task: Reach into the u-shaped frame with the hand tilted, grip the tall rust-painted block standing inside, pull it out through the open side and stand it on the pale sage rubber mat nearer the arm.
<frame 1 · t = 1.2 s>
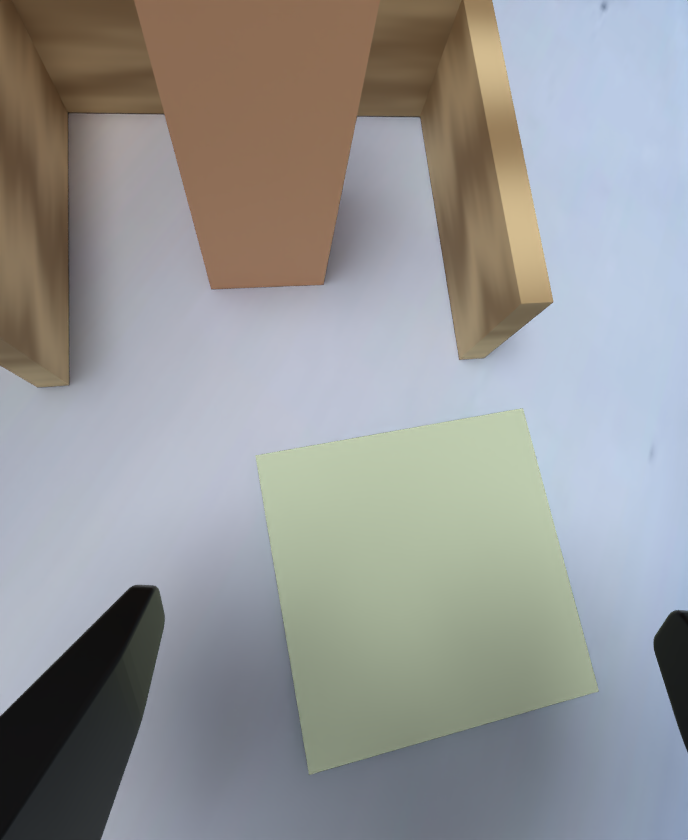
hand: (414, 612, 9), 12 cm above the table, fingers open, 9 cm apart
u-shaped frame: (263, 236, 23), on the table
block: (263, 236, 23), on the table
mat: (423, 572, 21), on the table
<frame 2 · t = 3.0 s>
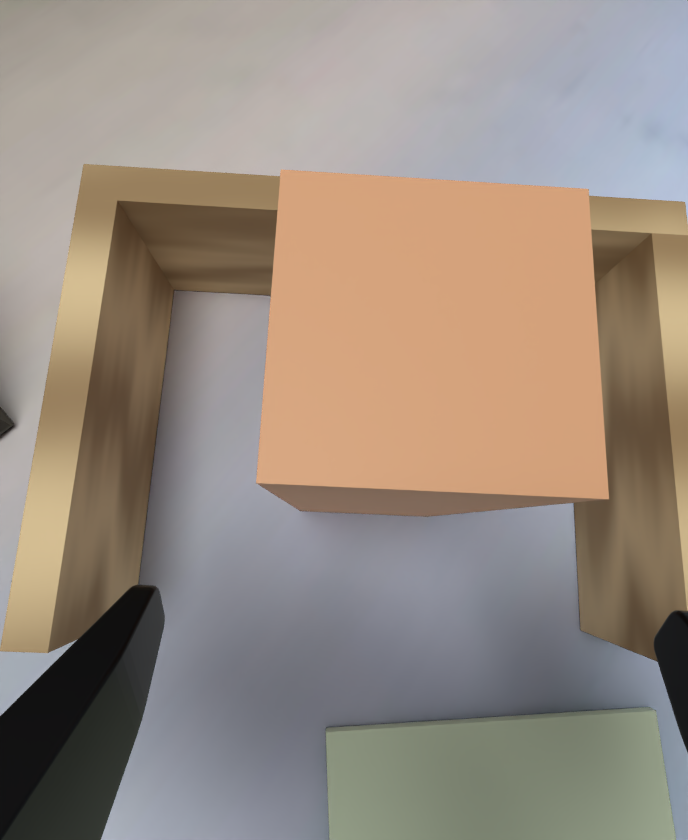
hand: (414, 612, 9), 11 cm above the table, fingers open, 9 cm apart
u-shaped frame: (366, 450, 20), on the table
block: (366, 450, 20), on the table
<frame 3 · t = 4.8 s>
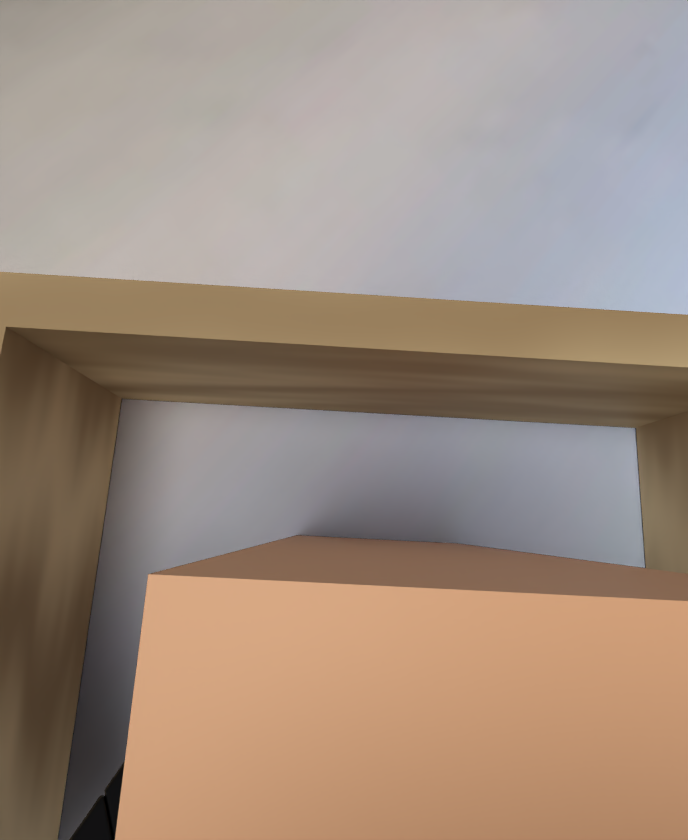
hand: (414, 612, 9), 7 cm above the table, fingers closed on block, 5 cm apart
u-shaped frame: (374, 625, 15), on the table
block: (374, 625, 15), on the table, touching gripper
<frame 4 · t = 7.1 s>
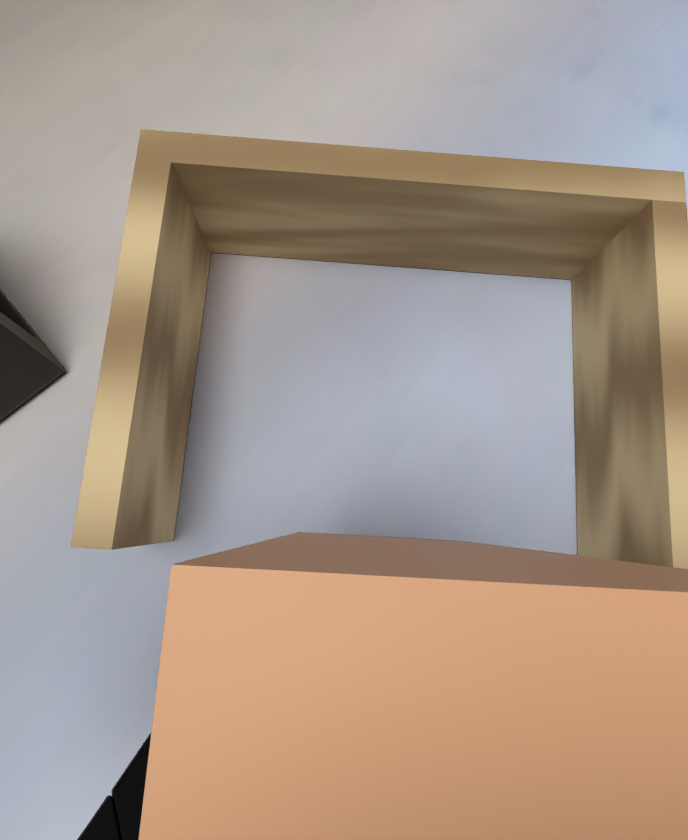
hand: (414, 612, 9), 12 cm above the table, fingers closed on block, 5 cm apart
u-shaped frame: (384, 402, 22), on the table
block: (376, 621, 15), point 6 cm above the table, touching gripper
when the fingers open (8 cm above the table, at t = 9.2 s): block stays where it is, resting on mat.
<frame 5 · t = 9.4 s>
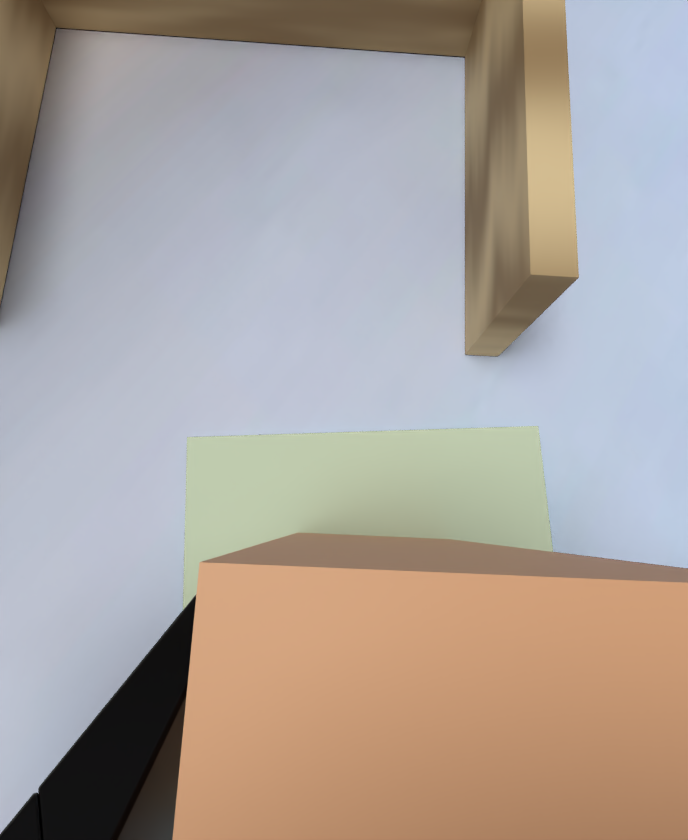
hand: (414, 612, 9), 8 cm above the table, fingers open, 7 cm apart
u-shaped frame: (248, 181, 19), on the table
block: (371, 616, 16), resting on mat
mat: (372, 615, 16), on the table
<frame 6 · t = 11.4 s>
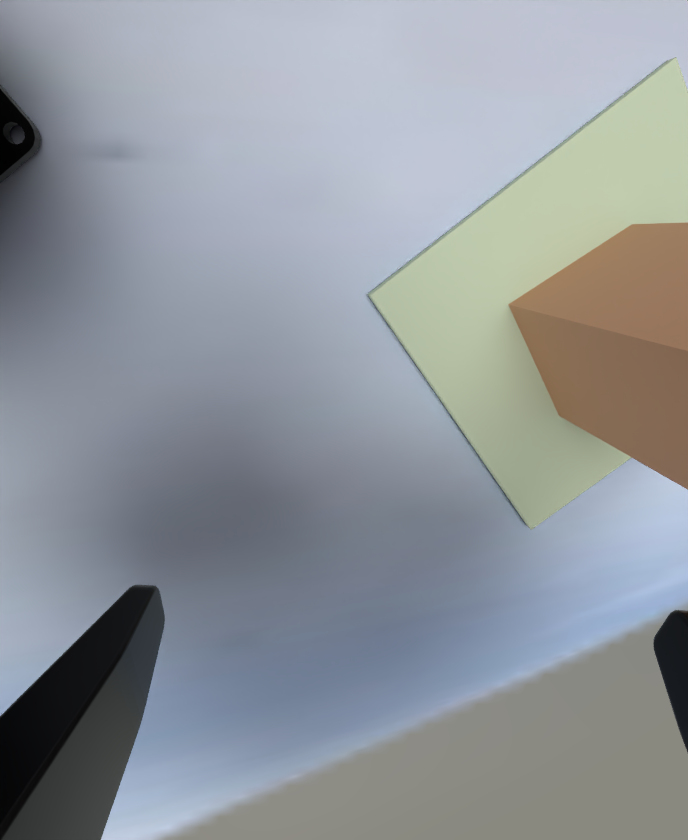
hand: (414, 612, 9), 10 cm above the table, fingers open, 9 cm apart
block: (593, 325, 18), resting on mat
mat: (586, 325, 19), on the table
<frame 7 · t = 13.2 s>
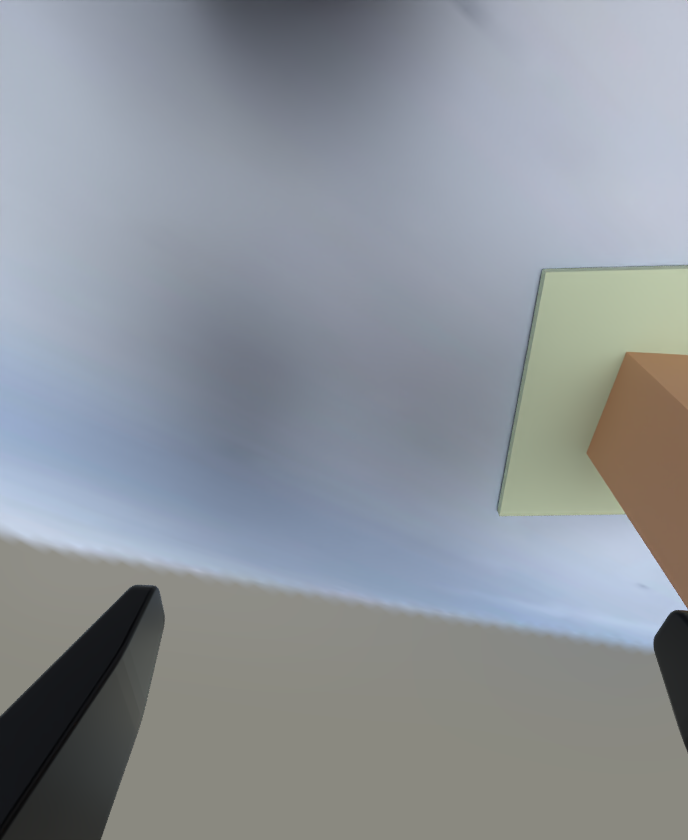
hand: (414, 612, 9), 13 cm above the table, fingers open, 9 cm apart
block: (663, 408, 21), resting on mat
mat: (657, 405, 22), on the table
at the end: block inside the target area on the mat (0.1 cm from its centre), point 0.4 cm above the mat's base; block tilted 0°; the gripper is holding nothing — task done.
